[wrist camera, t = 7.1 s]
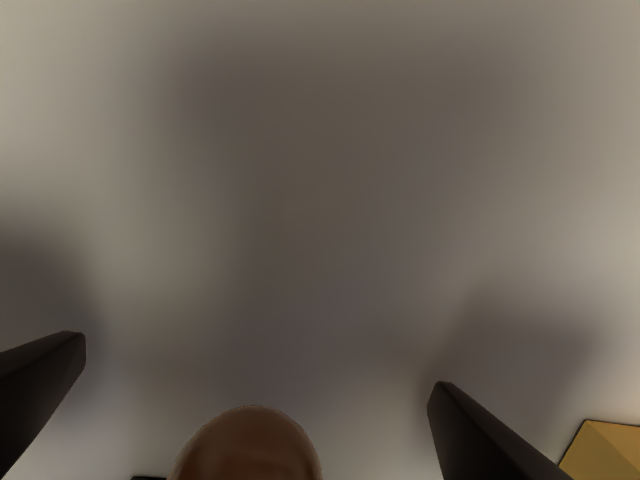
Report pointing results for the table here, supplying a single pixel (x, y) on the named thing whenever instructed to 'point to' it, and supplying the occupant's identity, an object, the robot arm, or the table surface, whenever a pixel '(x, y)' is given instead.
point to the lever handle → (248, 449)
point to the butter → (604, 453)
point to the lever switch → (139, 479)
